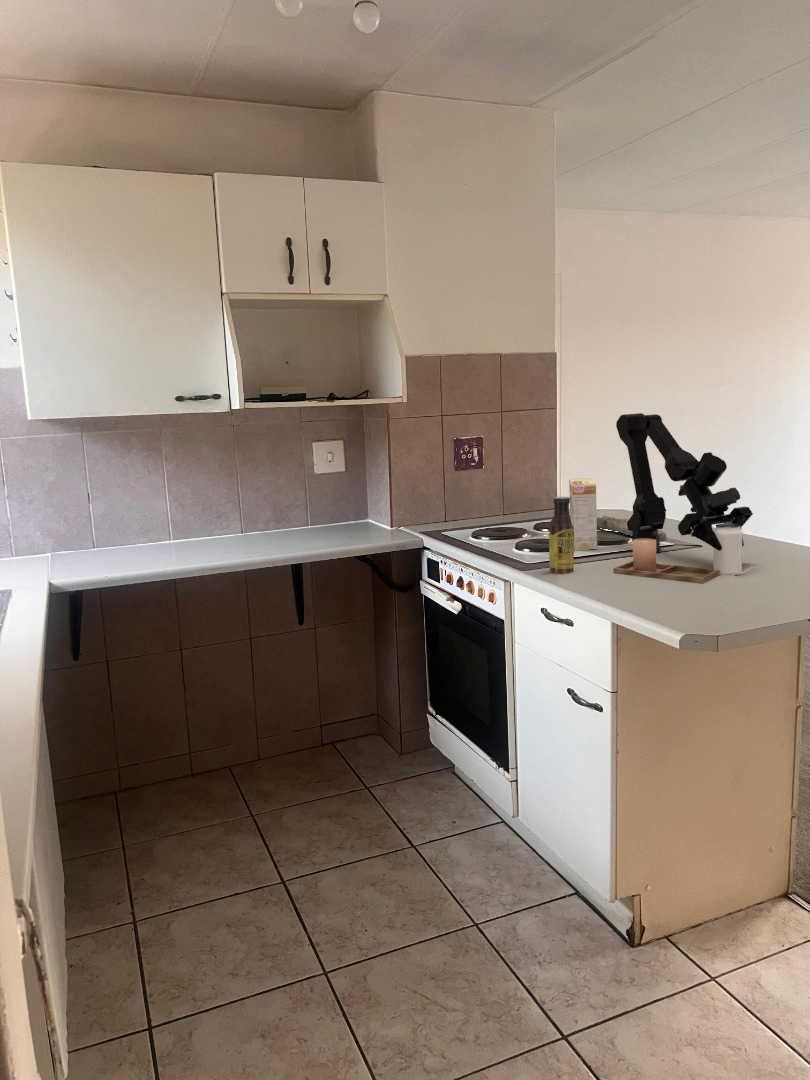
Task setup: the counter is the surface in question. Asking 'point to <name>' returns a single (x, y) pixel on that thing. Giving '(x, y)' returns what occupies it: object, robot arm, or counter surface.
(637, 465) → the robot arm
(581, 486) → the coffeecake box
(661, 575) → the wooden divided tray
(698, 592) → the counter surface
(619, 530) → the elongated rock
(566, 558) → the sauce bottle
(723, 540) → the can
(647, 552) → the jar
